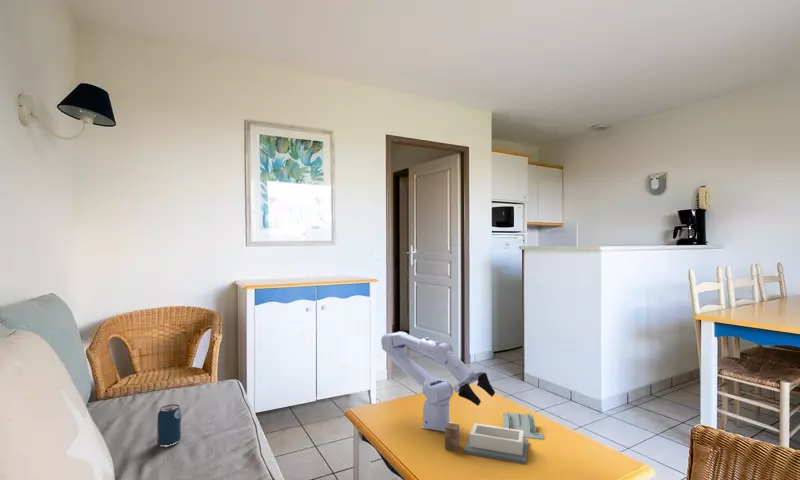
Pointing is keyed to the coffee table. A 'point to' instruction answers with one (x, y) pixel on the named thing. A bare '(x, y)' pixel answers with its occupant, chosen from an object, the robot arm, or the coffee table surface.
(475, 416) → the coffee table surface
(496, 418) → the coffee table surface
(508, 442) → the well
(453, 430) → the walnut block
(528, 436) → the metal bracket
